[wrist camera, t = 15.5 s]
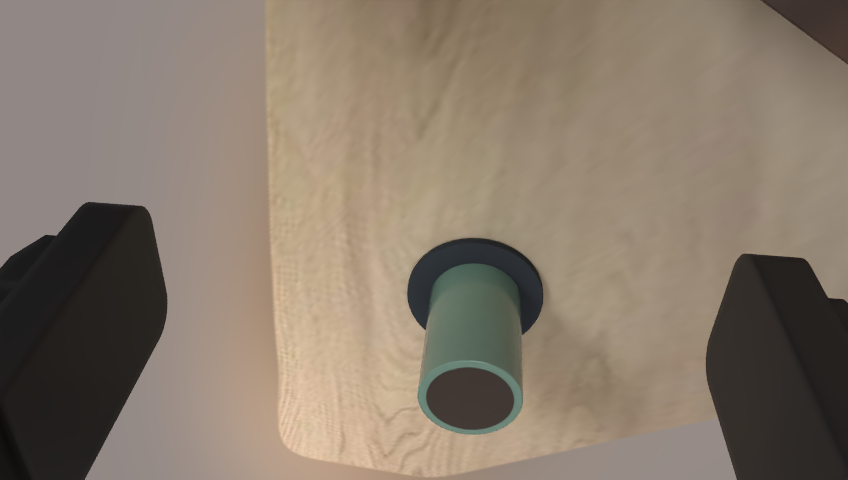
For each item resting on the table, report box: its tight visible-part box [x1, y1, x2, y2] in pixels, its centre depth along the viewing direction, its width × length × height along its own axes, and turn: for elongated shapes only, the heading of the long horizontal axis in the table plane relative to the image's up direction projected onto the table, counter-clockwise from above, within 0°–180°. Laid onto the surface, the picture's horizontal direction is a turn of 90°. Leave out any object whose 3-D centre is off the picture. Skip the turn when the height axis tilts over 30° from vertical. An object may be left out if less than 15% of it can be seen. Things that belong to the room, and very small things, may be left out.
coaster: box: [407, 238, 543, 335], centre depth 51 cm, size 9×9×1 cm
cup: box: [418, 263, 523, 435], centre depth 47 cm, size 6×6×9 cm
